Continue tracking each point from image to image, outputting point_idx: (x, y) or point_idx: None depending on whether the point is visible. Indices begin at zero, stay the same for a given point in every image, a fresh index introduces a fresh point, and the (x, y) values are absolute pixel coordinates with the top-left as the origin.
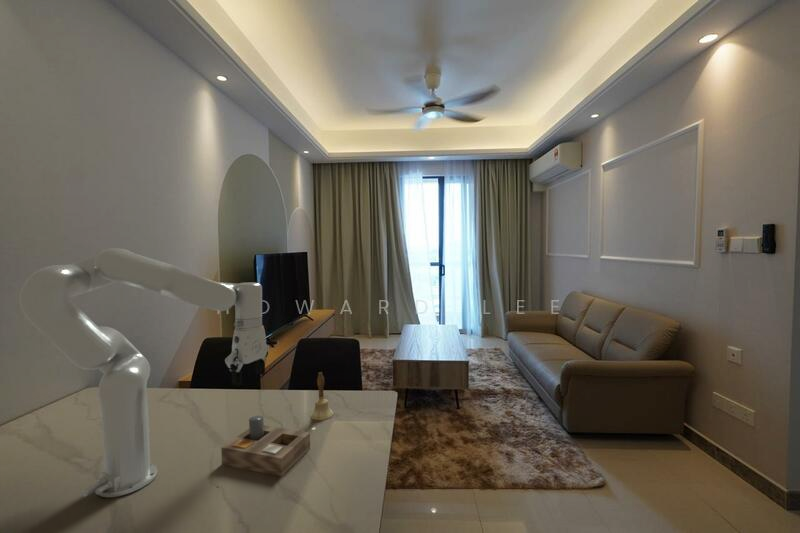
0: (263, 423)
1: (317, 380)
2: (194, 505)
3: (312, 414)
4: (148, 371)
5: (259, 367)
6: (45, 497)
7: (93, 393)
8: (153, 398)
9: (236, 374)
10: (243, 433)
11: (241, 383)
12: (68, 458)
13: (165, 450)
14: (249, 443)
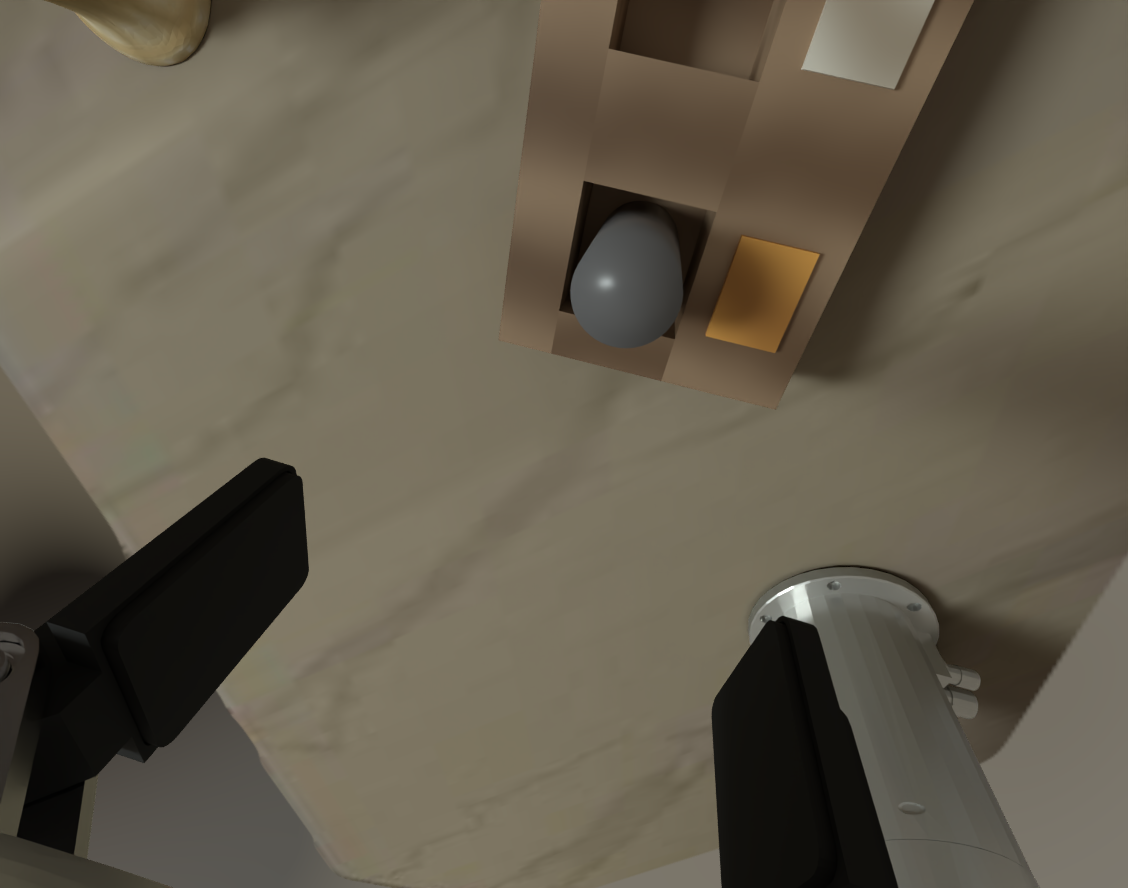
0: (613, 229)
1: None
2: (1116, 322)
3: (168, 34)
4: None
5: (225, 609)
6: None
7: (361, 860)
8: (332, 764)
9: (885, 867)
10: (617, 359)
11: (792, 628)
12: (678, 786)
13: (635, 614)
14: (763, 252)
